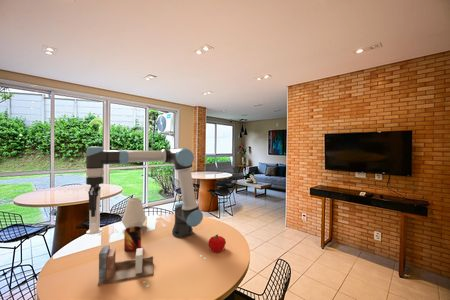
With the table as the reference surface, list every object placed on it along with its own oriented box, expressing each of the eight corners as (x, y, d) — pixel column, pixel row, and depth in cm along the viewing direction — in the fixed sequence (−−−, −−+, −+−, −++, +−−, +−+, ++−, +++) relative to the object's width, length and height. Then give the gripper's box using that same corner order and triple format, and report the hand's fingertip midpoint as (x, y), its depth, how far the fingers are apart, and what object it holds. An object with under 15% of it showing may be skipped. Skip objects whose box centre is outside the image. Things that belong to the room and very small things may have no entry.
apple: (215, 244, 133) (215, 229, 133) (228, 249, 127) (228, 233, 127) (205, 251, 125) (205, 235, 125) (218, 256, 119) (218, 239, 119)
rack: (152, 263, 111) (153, 238, 111) (153, 275, 100) (153, 247, 100) (103, 271, 102) (103, 244, 102) (97, 285, 92) (98, 255, 92)
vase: (130, 223, 169) (130, 195, 169) (149, 224, 166) (150, 196, 166) (116, 231, 152) (117, 201, 151) (138, 233, 149) (138, 202, 149)
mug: (139, 254, 120) (140, 234, 120) (120, 250, 123) (120, 231, 123) (149, 246, 129) (150, 228, 129) (131, 243, 133) (131, 225, 133)
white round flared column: (84, 235, 100) (85, 185, 100) (88, 230, 106) (88, 183, 106) (101, 233, 102) (101, 184, 102) (103, 228, 109) (103, 182, 109)
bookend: (142, 264, 107) (142, 247, 107) (141, 272, 100) (142, 254, 100) (136, 265, 106) (136, 248, 106) (135, 274, 99) (135, 255, 99)
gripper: (91, 174, 111) (91, 216, 111) (80, 178, 95) (80, 228, 95) (106, 173, 113) (106, 215, 113) (99, 178, 97) (98, 226, 98)
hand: (94, 220), depth 104 cm, fingers closed on white round flared column, 4 cm apart
